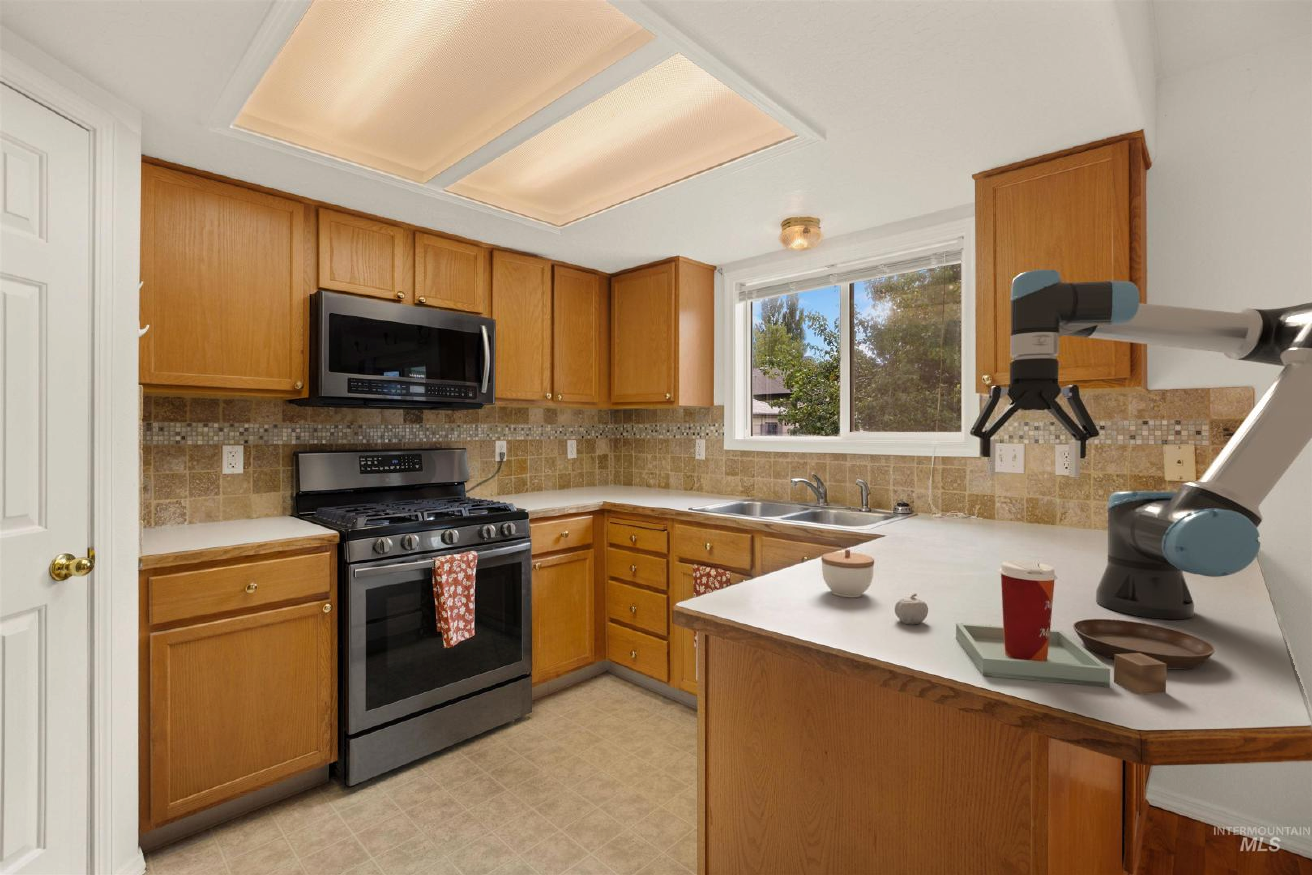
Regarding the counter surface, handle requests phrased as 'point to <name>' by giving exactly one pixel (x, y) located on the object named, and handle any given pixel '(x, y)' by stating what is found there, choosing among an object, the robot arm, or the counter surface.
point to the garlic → (911, 610)
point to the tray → (1061, 665)
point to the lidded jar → (847, 573)
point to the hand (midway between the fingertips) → (1031, 476)
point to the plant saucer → (1144, 642)
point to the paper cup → (1027, 608)
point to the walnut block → (1140, 673)
